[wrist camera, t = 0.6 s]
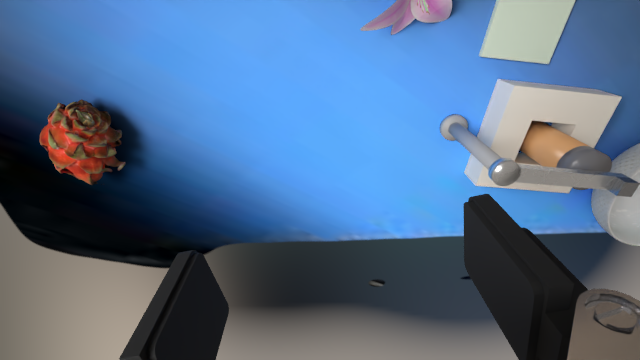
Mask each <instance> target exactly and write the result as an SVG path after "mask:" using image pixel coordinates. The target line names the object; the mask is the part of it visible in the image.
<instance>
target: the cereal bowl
mask: <svg viewBox="0 0 640 360" xmlns="http://www.w3.org/2000/svg"><path fill="white" fill-rule="evenodd" d="M610 172H612V173H622V174H624V175H626V176H628V177H629V178H631V179H633V180H635V181H637V182H638V183H640V143H639V144H637V145H635V146H633V147H631V148H629V149H628V150H626V151H624V152H623V153H622V154H620V155H619V156H617V157H616V158H615V159H614V160H613V161H612V167H611V170H610ZM591 207H592V212H593V215H594V216H595V219H596V220H597V221H598V223H599V224H600V225H601V227H602V228H604V230H605V231H606V232H608V233H609V234H610V235H611V236H612V237H614V238H615V239H617V240H618V241H620V242H623V243H625V244H629V245H635V246H640V185H639V186H638V188H637V189H636V191H635V192H634V194H633V195H632V197H625V196H616V195H615V194H613V193H611V192H610V191H608V190H603V189H593V192H592V197H591Z"/></svg>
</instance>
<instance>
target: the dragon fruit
mask: <svg viewBox="0 0 640 360" xmlns="http://www.w3.org/2000/svg"><path fill="white" fill-rule="evenodd" d="M48 121H49V124H48V125H47V126H45V127H44V128H43V130H42V131H41V133H40V144H41V145H42V146H43V147H44V148H45V149H46V150H47V151H48V152H49V157H50V159H51V160H52V162H53V163H54V165H55V168H56V169H57V170H58V171H59V172H60V173H68V174H71V175H73V176H76V177H77V178H78V179H80V180H84V181H86V182H87V183H89V184H91V185H93V184H98V183H96V181H97V180H99V179H100V178H101V177H102V175H103V174H102V173H101V172H107V171H108V172H112V169H110V168H109V166H111V167H118V170H121V169H122V168H123V167H124V166H125V164H126V162H121V161H119V160H117V159H116V157H115V156H114V155H115V154H117V153H116V150H115V148H114V147H116V146H119V145H121V141H120V140H119V139H120V138H121V137H122V131H121V130H115V129H112V128H111V127H110V124H111V116H110V115H109V113H108V112H106V111H103V112H102V111H98V109H97V108H95V107H93V106H92V104H91V103H88V102H87V101H83V100H80V101H78V102H72V103H70V104H69V105H67V106H65V105H64V104H61V103H58V104H57V108H56V109H55V110H54V111H53V112H51V114H50V115H49V116H48ZM101 185H102V184H101Z"/></svg>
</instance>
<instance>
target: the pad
mask: <svg viewBox="0 0 640 360" xmlns="http://www.w3.org/2000/svg"><path fill="white" fill-rule="evenodd" d="M574 3H575V0H496V3H495V6H494V10H493V13H492V16H491V19H490V22H489V25H488V28H487V31H486V35H485V38H484V41H483V44H482V47H481V50H480V53H479V56H480V57H488V58H498V59H507V60H516V61H525V62H534V63H543V64H549V62H550V59H551V57H552V55H553V52H554V50H555V48H556V45H557V43H558V41H559V38H560V36H561V33H562V31H563V29H564V26H565V24H566V22H567V19H568V17H569V15H570V12H571V10H572V7H573V5H574Z"/></svg>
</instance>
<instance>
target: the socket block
mask: <svg viewBox="0 0 640 360" xmlns="http://www.w3.org/2000/svg"><path fill="white" fill-rule="evenodd" d="M621 98H622V97H621V96H617V95H614V94H611V93H607V92H604V91H601V90H597V89H589V88H579V87H570V86H560V85H551V84H542V83H532V82H523V81H513V80H504V79H498V80H497V82H496V85H495V88H494V91H493V93H492V96H491V99H490V102H489V105H488V107H487V110H486V113H485V116H484V119H483V121H482V124H481V127H480V130H479V133H478V135H477V137H476V136H474V135H473V134H472V133H471V132H469V131H468V130H467V129H468V123H467V121H466V119H465V118H463V117H462V116H461V115H458V114H452V115H449V116H447V117H446V118H445V119H444V120H443V121H442V122H441V125H440V133H441V135H442V136H443V137H444V138H445V139H447V140H450V141H454V140H457V141H458V142H459V143H461V144H462V145H463V146H464V147H465V148H466V149H467V150H468V151H469V152H470V153H471V155H470V158H469V160H468V163H467V166H466V169H465V172H464V173H465V174H466V175H467V176H468V178H469V179H470V180H471V181H472V182H473V183H474V184H475V185H476V186H486V187H498V188H510V189H522V190H534V191H546V192H558V193H569V192H570V190H571V189H572V187H567V186H555V185H543V184H531V183H519V182H514V183H513V184H511V185H508V186H498V185H497V184H495V183H494V182H493V181H492V180H491V179H490V178H489V175H488V171H489V168H490V166H491V165H492V164H493V163H494V162H495V161H496V160H498V159H501V158H510V159H512V160H513V161H515V162H516V163H517V164H521V165H533V166H541V165H540V164H539V163H537V162H536V161H534V160H533V159H532V158H530V157H529V156H527V155H526V154H524V153H518V152H519V149H520V147H521V145H522V142H523V140H524V138H525V136H526V133H527V131H528V129H529V126H530V124H531V122H532V121H542V122H552V124H551V127H553V128H555V129H557V130H559V131H561V132H563V133H565V134H567V135H569V136H571V137H573V138H575V139H577V140H579V141H580V142H582V143H584V144H586V145H588V146H590V147H592V148H594V147H595V145H596V143H597V142H598V140H599V138H600V136H601V134H602V133H603V131H604V129H605V127H606V125H607V123H608V122H609V120H610V118H611V116H612V114H613V113H614V111H615V109H616V107H617V105H618V104H619V102H620V100H621Z"/></svg>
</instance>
